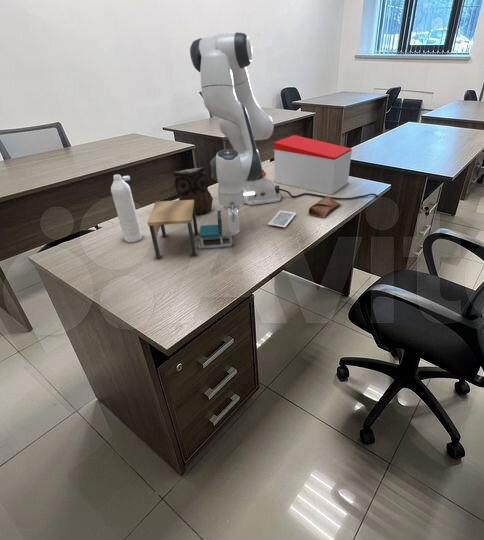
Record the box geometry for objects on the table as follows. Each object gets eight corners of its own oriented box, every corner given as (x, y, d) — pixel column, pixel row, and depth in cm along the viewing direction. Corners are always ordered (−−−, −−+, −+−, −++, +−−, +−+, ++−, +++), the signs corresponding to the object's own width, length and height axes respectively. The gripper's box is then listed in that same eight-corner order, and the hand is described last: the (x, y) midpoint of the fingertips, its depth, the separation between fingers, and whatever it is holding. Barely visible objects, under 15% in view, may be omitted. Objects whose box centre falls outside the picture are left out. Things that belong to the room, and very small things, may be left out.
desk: (198, 233, 137) (194, 199, 129) (196, 256, 122) (190, 219, 114) (162, 235, 135) (155, 201, 127) (156, 259, 120) (147, 222, 112)
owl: (215, 209, 156) (210, 165, 145) (199, 220, 146) (192, 174, 135) (192, 205, 160) (185, 162, 149) (175, 215, 151) (166, 170, 140)
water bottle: (120, 240, 132) (102, 176, 118) (133, 233, 136) (117, 171, 123) (137, 245, 128) (120, 180, 115) (150, 237, 133) (135, 174, 120)
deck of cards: (296, 215, 151) (296, 210, 150) (285, 229, 140) (285, 224, 138) (279, 212, 154) (279, 208, 152) (267, 226, 142) (267, 221, 141)
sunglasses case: (325, 217, 148) (319, 203, 146) (312, 222, 153) (306, 208, 151) (342, 204, 161) (336, 190, 159) (329, 208, 165) (324, 195, 164)
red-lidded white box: (292, 171, 203) (293, 134, 191) (347, 182, 187) (352, 143, 175) (273, 181, 188) (273, 142, 176) (331, 194, 172) (335, 152, 161)
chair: (232, 236, 134) (229, 209, 128) (233, 246, 128) (230, 218, 121) (199, 239, 133) (195, 211, 126) (198, 249, 126) (194, 220, 120)
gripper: (242, 209, 113) (244, 245, 121) (238, 187, 130) (240, 221, 138) (223, 210, 112) (226, 246, 120) (221, 188, 129) (225, 222, 137)
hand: (234, 232), depth 129 cm, fingers closed, pressing on chair
